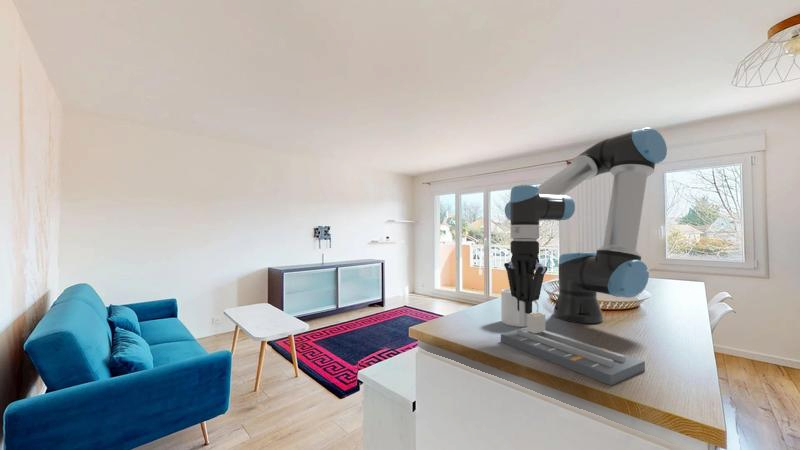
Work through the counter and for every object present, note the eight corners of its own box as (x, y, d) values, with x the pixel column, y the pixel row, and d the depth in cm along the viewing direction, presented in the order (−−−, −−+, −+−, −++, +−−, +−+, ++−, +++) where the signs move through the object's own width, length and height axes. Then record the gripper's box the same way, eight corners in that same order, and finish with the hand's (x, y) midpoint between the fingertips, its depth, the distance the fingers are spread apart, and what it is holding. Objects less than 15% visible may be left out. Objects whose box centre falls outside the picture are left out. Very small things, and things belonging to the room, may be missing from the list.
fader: (537, 332, 85) (537, 312, 86) (545, 335, 83) (545, 314, 84) (527, 335, 83) (527, 314, 83) (534, 338, 81) (534, 316, 81)
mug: (544, 327, 98) (543, 293, 98) (505, 327, 98) (505, 293, 98) (533, 320, 106) (533, 289, 106) (498, 319, 107) (498, 288, 107)
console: (533, 333, 92) (533, 322, 92) (644, 370, 68) (644, 355, 68) (500, 341, 85) (500, 329, 85) (610, 385, 61) (610, 369, 61)
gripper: (497, 239, 91) (497, 319, 90) (535, 240, 80) (536, 332, 79) (515, 239, 95) (515, 316, 94) (554, 240, 83) (554, 328, 83)
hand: (524, 323), depth 87 cm, fingers closed
